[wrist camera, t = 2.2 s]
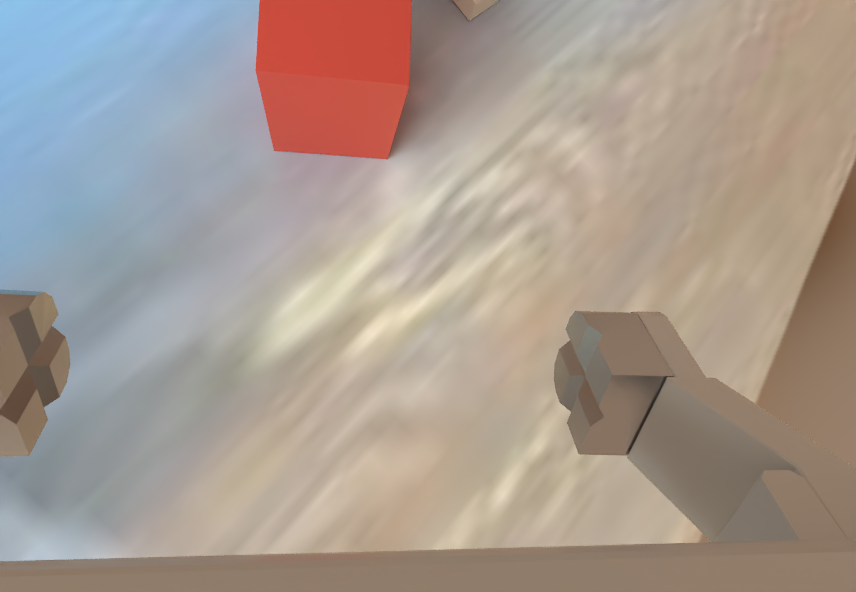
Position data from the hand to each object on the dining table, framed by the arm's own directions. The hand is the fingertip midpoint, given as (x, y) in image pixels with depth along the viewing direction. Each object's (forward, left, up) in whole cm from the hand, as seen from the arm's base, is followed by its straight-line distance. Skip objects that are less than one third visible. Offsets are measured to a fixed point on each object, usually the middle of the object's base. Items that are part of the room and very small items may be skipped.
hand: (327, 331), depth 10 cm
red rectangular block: (-10, +8, -19) cm, 23 cm away
